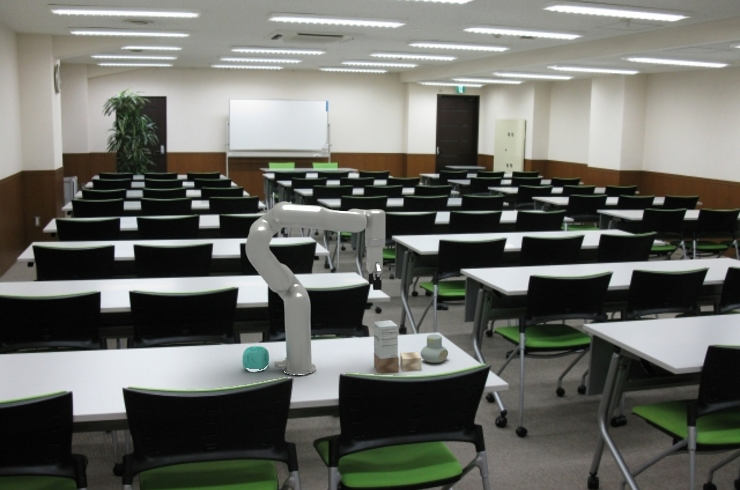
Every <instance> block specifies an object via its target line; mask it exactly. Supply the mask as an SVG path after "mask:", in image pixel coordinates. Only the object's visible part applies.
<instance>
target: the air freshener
mask: <svg viewBox="0 0 740 490" xmlns="http://www.w3.org/2000/svg"><path fill="white" fill-rule="evenodd" d="M448 356H449V351H448V349H447V348H446V347H445V346H443V337H442V335H440V334H435V333H434V334H429V335H427V336H426V346H424V347H423V348H422V349H421V351H420V357H421V359H423V360H424V361H426V362H427V363H430V364H440V363H442V362H445V360H446V359H447V358H448Z"/></svg>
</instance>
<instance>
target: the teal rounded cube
mask: <svg viewBox="0 0 740 490" xmlns="http://www.w3.org/2000/svg"><path fill="white" fill-rule="evenodd" d="M241 359H242V361H241V363H242V367H243V368H244V369H245V368H249V369H259V370H261V369H264V368H265V367H266V366H267V365H268V366H269V363H270V353H269V350H268V349H267V348H266V347H265V346H261V345H253V346H249V347H247V348H245V349H244V350H243V354H242V358H241Z"/></svg>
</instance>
